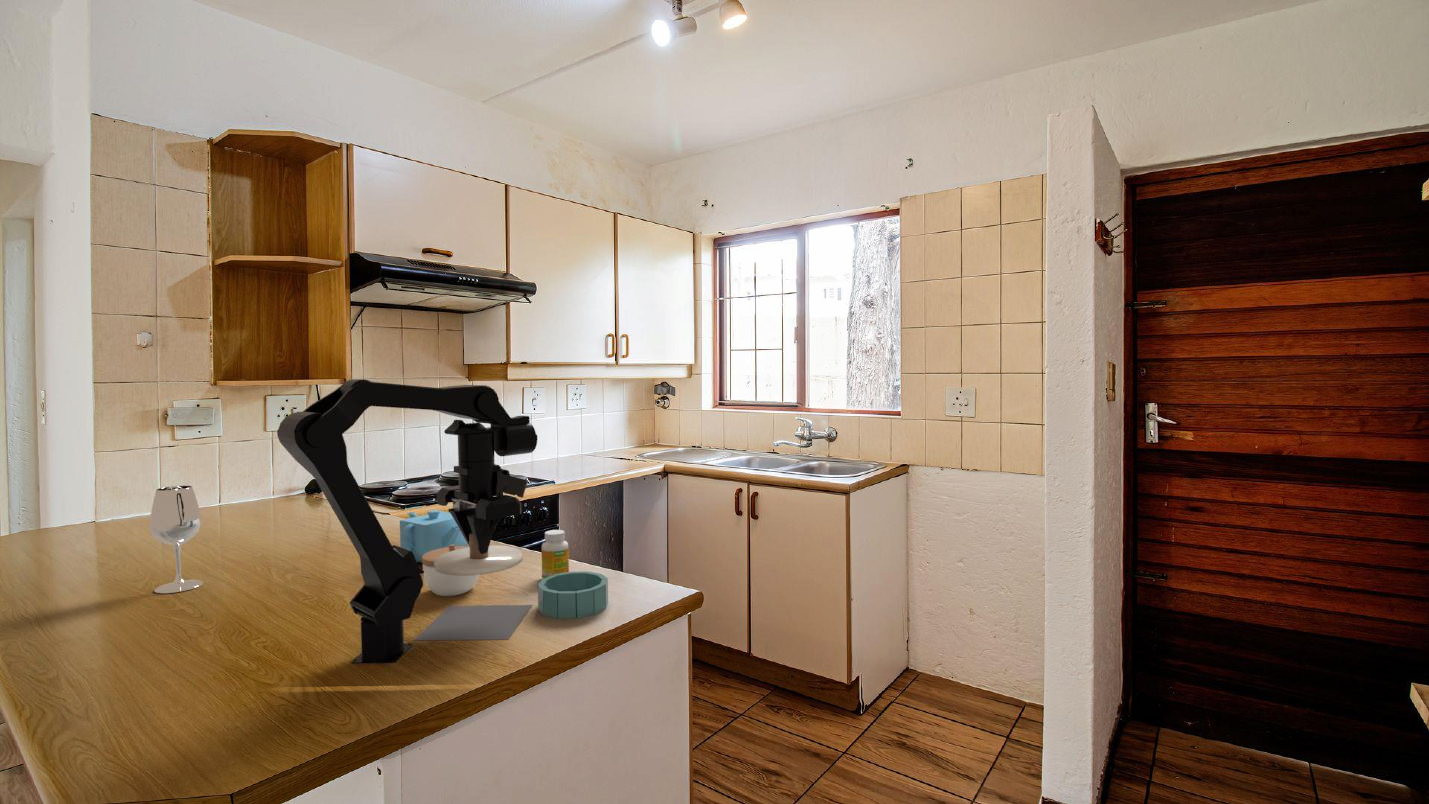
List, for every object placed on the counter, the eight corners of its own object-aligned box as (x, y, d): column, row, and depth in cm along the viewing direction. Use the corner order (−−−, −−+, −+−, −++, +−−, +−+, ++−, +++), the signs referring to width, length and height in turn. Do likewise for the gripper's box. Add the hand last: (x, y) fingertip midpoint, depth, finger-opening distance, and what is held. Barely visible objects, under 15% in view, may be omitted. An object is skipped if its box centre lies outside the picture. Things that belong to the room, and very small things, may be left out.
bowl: (602, 621, 113) (601, 592, 112) (531, 622, 112) (531, 593, 112) (611, 597, 125) (611, 571, 124) (548, 597, 124) (547, 571, 124)
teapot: (428, 575, 138) (426, 522, 137) (378, 562, 147) (376, 512, 147) (489, 556, 151) (488, 508, 151) (440, 545, 161) (438, 500, 160)
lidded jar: (462, 604, 121) (460, 554, 120) (410, 600, 123) (409, 551, 122) (492, 585, 131) (491, 539, 131) (444, 582, 133) (443, 536, 133)
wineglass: (145, 590, 129) (140, 489, 128) (192, 578, 136) (187, 483, 135) (165, 596, 125) (160, 493, 124) (211, 584, 132) (207, 486, 131)
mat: (508, 642, 104) (508, 639, 104) (413, 643, 104) (413, 640, 104) (532, 607, 119) (532, 604, 119) (449, 608, 119) (449, 605, 119)
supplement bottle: (555, 584, 132) (554, 536, 131) (536, 579, 135) (535, 533, 134) (574, 577, 136) (573, 530, 136) (555, 572, 139) (555, 527, 139)
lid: (509, 575, 104) (508, 544, 104) (420, 576, 104) (419, 545, 104) (531, 550, 118) (530, 522, 118) (452, 551, 118) (452, 523, 118)
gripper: (549, 459, 109) (550, 552, 110) (493, 450, 122) (495, 533, 123) (486, 467, 101) (488, 567, 102) (434, 456, 114) (436, 545, 115)
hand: (478, 551), depth 111 cm, fingers closed on lid, 3 cm apart
